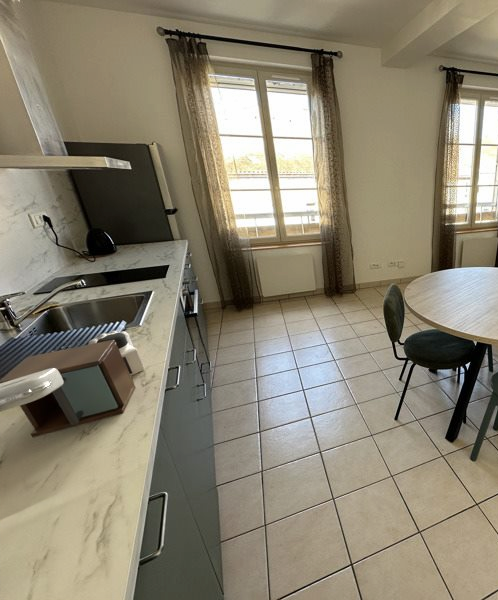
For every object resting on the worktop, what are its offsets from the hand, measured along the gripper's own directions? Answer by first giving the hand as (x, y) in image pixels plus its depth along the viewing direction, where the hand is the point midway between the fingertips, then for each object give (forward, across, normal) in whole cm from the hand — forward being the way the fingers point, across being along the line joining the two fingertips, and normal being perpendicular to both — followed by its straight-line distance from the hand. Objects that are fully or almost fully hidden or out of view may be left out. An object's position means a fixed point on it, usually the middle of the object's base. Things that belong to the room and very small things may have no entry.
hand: (3, 388), depth 61 cm
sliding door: (+18, -3, +17) cm, 25 cm away
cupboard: (+26, 0, +16) cm, 31 cm away
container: (+42, -6, +13) cm, 44 cm away
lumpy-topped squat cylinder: (+54, -2, +10) cm, 55 cm away
